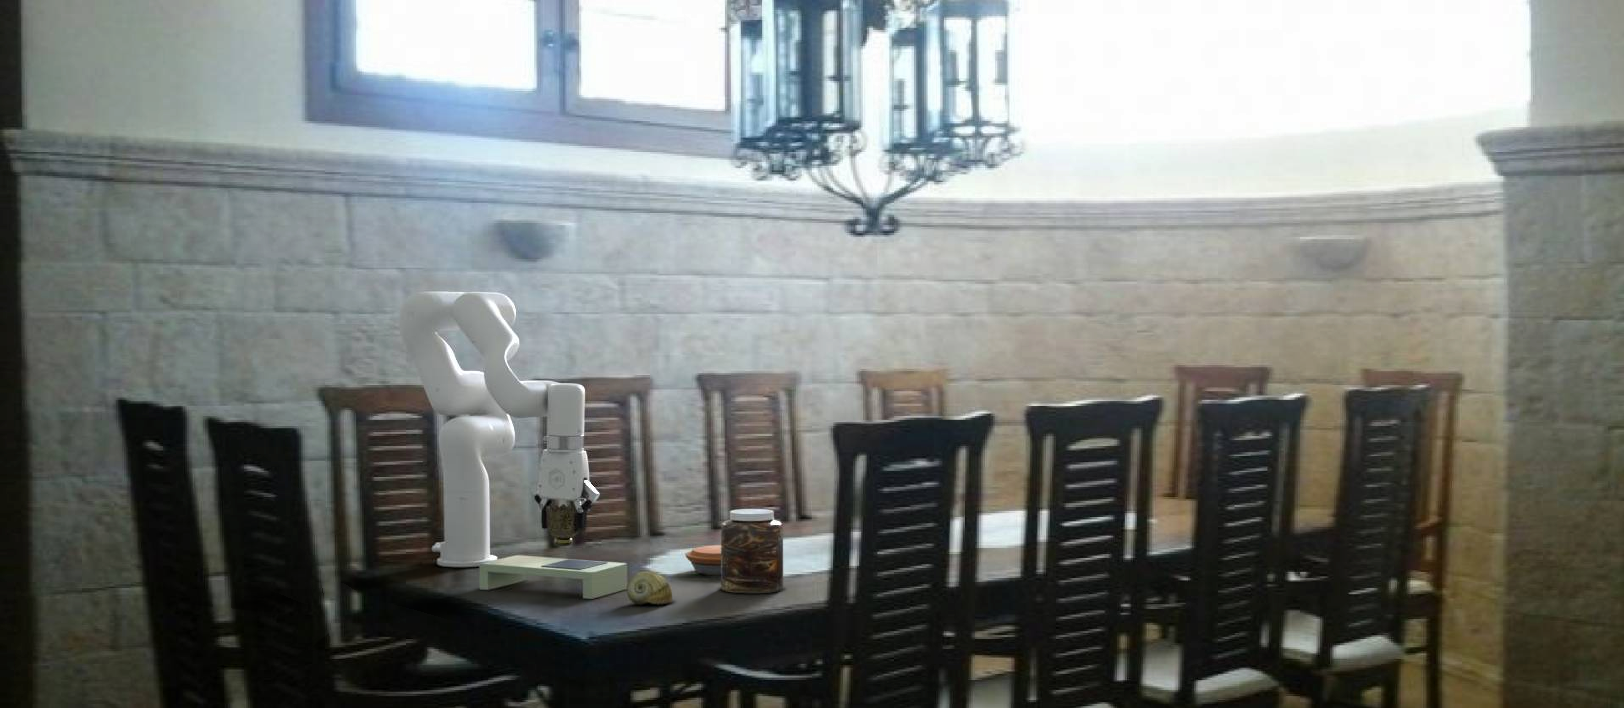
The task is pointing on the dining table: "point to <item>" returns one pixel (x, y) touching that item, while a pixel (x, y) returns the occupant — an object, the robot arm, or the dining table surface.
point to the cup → (561, 524)
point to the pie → (706, 559)
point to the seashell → (649, 589)
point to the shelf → (556, 573)
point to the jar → (751, 552)
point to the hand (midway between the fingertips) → (563, 529)
